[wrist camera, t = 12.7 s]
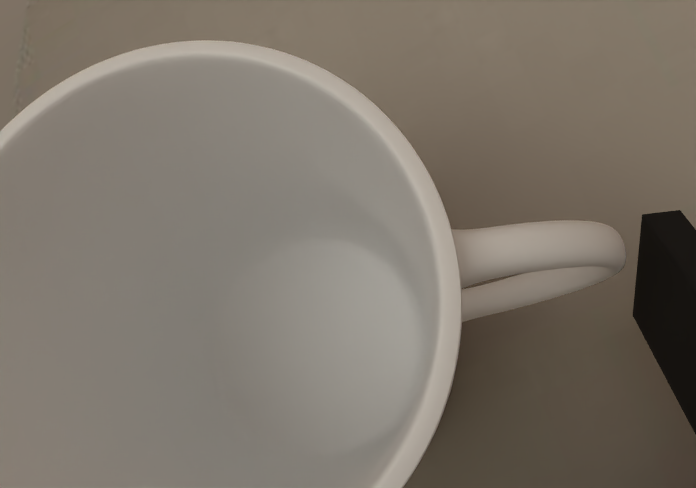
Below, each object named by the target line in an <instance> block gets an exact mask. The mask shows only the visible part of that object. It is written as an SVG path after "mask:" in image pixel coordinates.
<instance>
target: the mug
mask: <svg viewBox="0 0 696 488" xmlns="http://www.w3.org/2000/svg"><path fill="white" fill-rule="evenodd" d="M625 262H626V250H625V245H624V242H623V240H622V238H621V236H620V235H619V233H618V232H617V231H616V230H615V229H614V228H612V227H611V226H609V225H606V224H603V223H599V222H593V221H582V220H558V221H541V222H529V223H520V224H511V225H503V226H495V227H488V228H479V229H464V230H460V229H451V226H450V222H449V219H448V216H447V213H446V211H445V208H444V205H443V203H442V200H441V198H440V195H439V193H438V191H437V189H436V186H435V184H434V182H433V180H432V178H431V176H430V175H429V173H428V171H427V169H426V167H425V166H424V164H423V162H422V161H421V159H420V157H419V156H418V154H417V153H416V151H415V150H414V148H413V147H412V146H411V144H410V143H409V141H408V140H407V139H406V137H405V136H404V135H403V134H402V132H401V131H400V130H399V129H398V128H397V127H396V125H395V124H394V123H393V122H392V121H391V120H390V119H389V118H388V117H387V116H386V115H385V114H384V113H383V112H382V111H381V110H380V109H379V108H378V107H377V106H376V105H375V104H374V103H373V102H372V101H370V100H369V99H368V98H367V97H366V96H364V95H363V94H362V93H361V92H359V91H358V90H357V89H355V88H354V87H352V86H351V85H350V84H348V83H347V82H345V81H344V80H342V79H340V78H339V77H337V76H336V75H334V74H332V73H330V72H329V71H327V70H325V69H323V68H321V67H319V66H317V65H315V64H313V63H311V62H308V61H306V60H304V59H301V58H299V57H296V56H293V55H290V54H287V53H284V52H281V51H278V50H274V49H271V48H267V47H262V46H257V45H252V44H246V43H239V42H230V41H213V40H200V41H183V42H173V43H166V44H160V45H155V46H150V47H145V48H141V49H137V50H134V51H130V52H127V53H124V54H121V55H118V56H115V57H112V58H109V59H107V60H104V61H102V62H99V63H97V64H95V65H93V66H91V67H88V68H86V69H84V70H82V71H80V72H78V73H76V74H75V75H73V76H71V77H69V78H67V79H66V80H64V81H62V82H61V83H59V84H58V85H56V86H54V87H53V88H51V89H50V90H48V91H47V92H46V93H44V94H43V95H41V96H40V97H39V98H37V99H36V100H35V101H33V102H32V103H31V104H30V105H28V106H27V107H26V108H25V109H23V110H22V111H21V112H20V113H19V114H18V115H17V116H16V117H14V118H13V119H12V120H11V121H10V122H9V123H8V124H7V125H6V126H5V127H4V128H3V129H2V130H1V131H0V488H403V487H404V486H405V484H406V483H407V481H408V480H409V479H410V477H411V476H412V474H413V472H414V471H415V469H416V468H417V466H418V464H419V463H420V461H421V459H422V457H423V456H424V454H425V452H426V450H427V448H428V446H429V444H430V442H431V440H432V438H433V436H434V434H435V432H436V429H437V427H438V425H439V422H440V420H441V417H442V415H443V412H444V409H445V406H446V403H447V400H448V398H449V395H450V392H451V388H452V384H453V380H454V375H455V370H456V366H457V360H458V354H459V348H460V339H461V328H462V322H465V321H468V320H471V319H475V318H479V317H483V316H488V315H492V314H496V313H500V312H504V311H508V310H512V309H516V308H520V307H524V306H528V305H531V304H535V303H539V302H542V301H546V300H549V299H553V298H556V297H559V296H563V295H566V294H569V293H572V292H575V291H578V290H581V289H584V288H587V287H590V286H592V285H595V284H597V283H600V282H602V281H604V280H606V279H608V278H610V277H612V276H614V275H616V274H617V273H618V272H620V271H621V270H622V268H623V267H624V265H625ZM522 273H523V274H522ZM516 274H520V275H517V276H513V277H510V278H506V279H503V280H499V281H496V282H492V283H488V284H484V285H480V286H476V287H472V288H467V289H462V288H465V287H468V286H470V285H473V284H476V283H480V282H483V281H487V280H491V279H495V278H500V277H505V276H510V275H516Z"/></svg>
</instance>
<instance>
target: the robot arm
mask: <svg viewBox="0 0 696 488" xmlns="http://www.w3.org/2000/svg"><path fill="white" fill-rule="evenodd" d="M633 317H634V319H635V321H636V323H637V324H638V326H639V328H640V330H641V332H642V334H643V336H644V338H645V340H646V341H647V343H648V345H649V347H650V349H651V351H652V353H653V355H654V357H655V359H656V360H657V362H658V364H659V366H660V368H661V370H662V372H663V374H664V376H665V377H666V379H667V381H668V383H669V385H670V387H671V389H672V391H673V393H674V394H675V396H676V398H677V400H678V402H679V404H680V406H681V408H682V410H683V411H684V413H685V415H686V417H687V419H688V421H689V423H690V425H691V427H692V428H693V430H694V432H695V434H696V230H695V228H694V227H693V226H692V225H691V223H690V222H689V221H688V220H687V218H686V217H685V216H684V215H683V213H682V212H681V211H680V210H678V211H669V212H661V213H652V214H643V215H642V222H641V233H640V244H639V254H638V265H637V276H636V286H635V297H634V308H633Z"/></svg>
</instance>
